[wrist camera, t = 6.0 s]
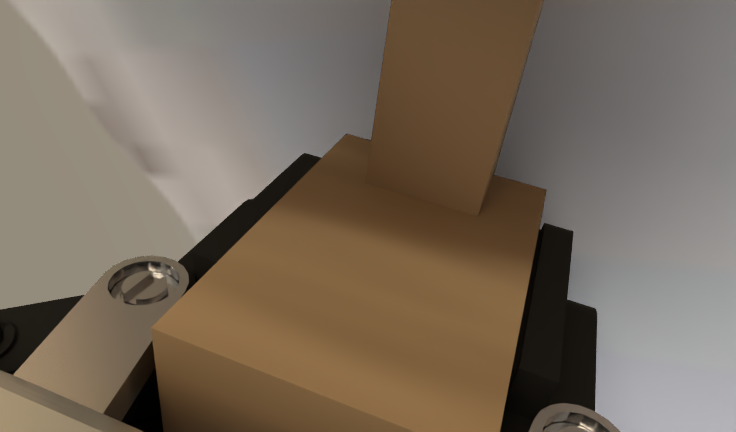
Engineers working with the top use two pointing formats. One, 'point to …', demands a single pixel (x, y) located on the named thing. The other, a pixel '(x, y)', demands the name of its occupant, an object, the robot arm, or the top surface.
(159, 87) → the top surface
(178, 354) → the brown piece
